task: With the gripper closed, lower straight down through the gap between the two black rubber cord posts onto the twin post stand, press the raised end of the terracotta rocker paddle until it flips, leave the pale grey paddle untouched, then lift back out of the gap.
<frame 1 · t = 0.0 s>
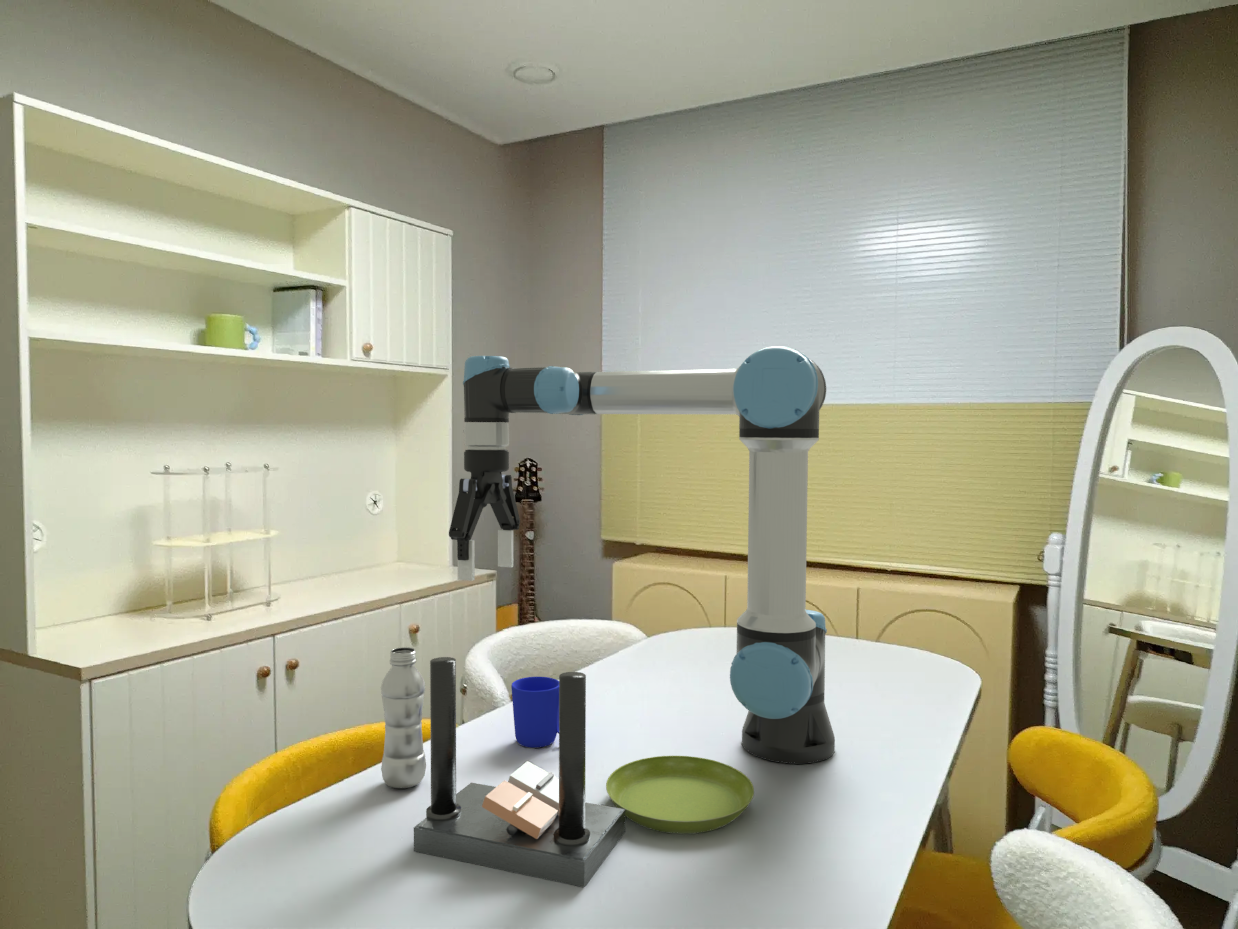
hand: (486, 573, 141), 28 cm above the table, fingers open, 13 cm apart
mug: (547, 744, 139), on the table
paddle a: (520, 807, 103), point 6 cm above the table, hinge at -20.0°
plastic bottle: (403, 785, 122), on the table
saucer: (679, 808, 116), on the table
twin post stand: (522, 841, 106), on the table
paddle b: (543, 785, 109), point 6 cm above the table, hinge at -20.0°
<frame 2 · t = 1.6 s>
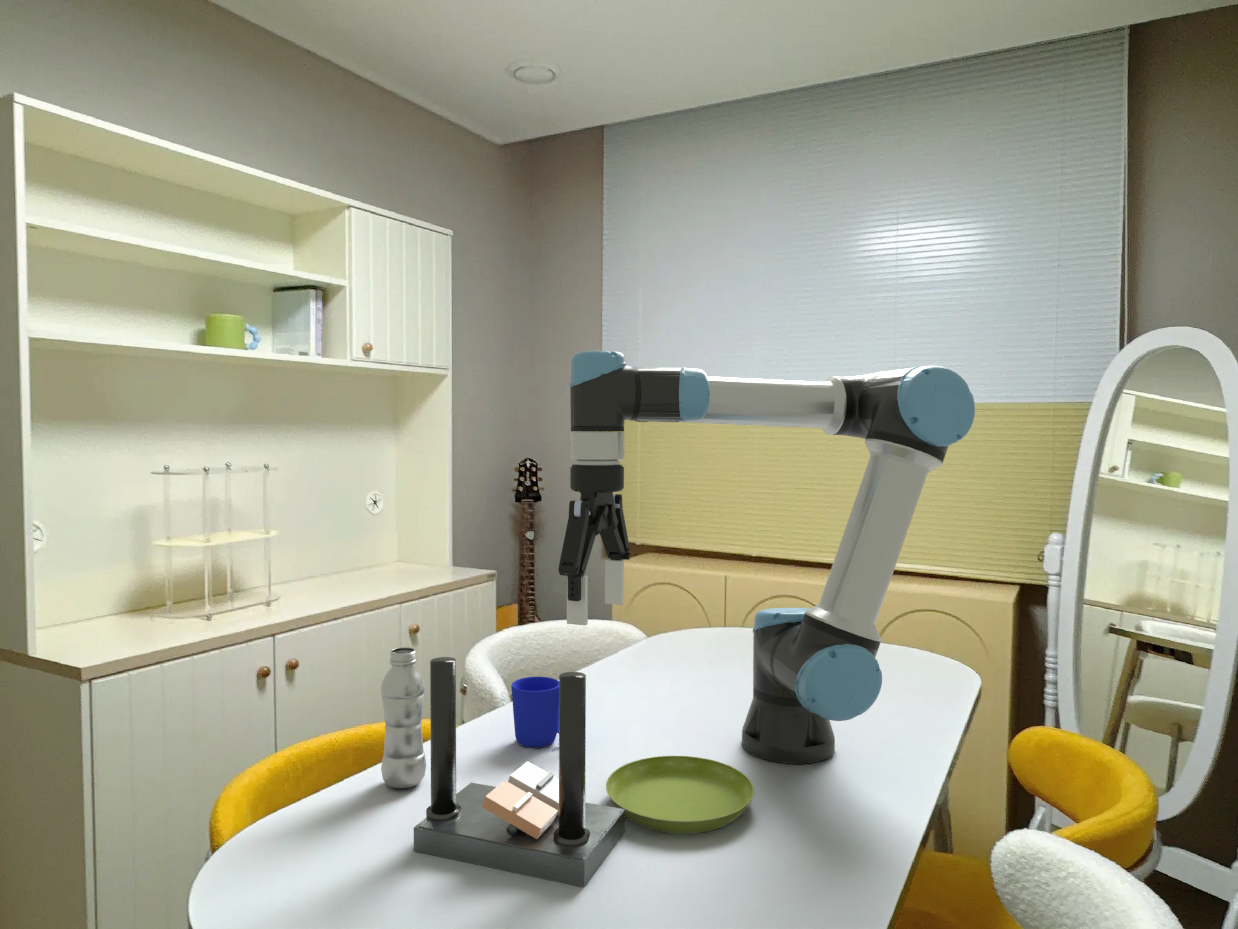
hand: (596, 613, 117), 27 cm above the table, fingers open, 13 cm apart
nothing on the table moved.
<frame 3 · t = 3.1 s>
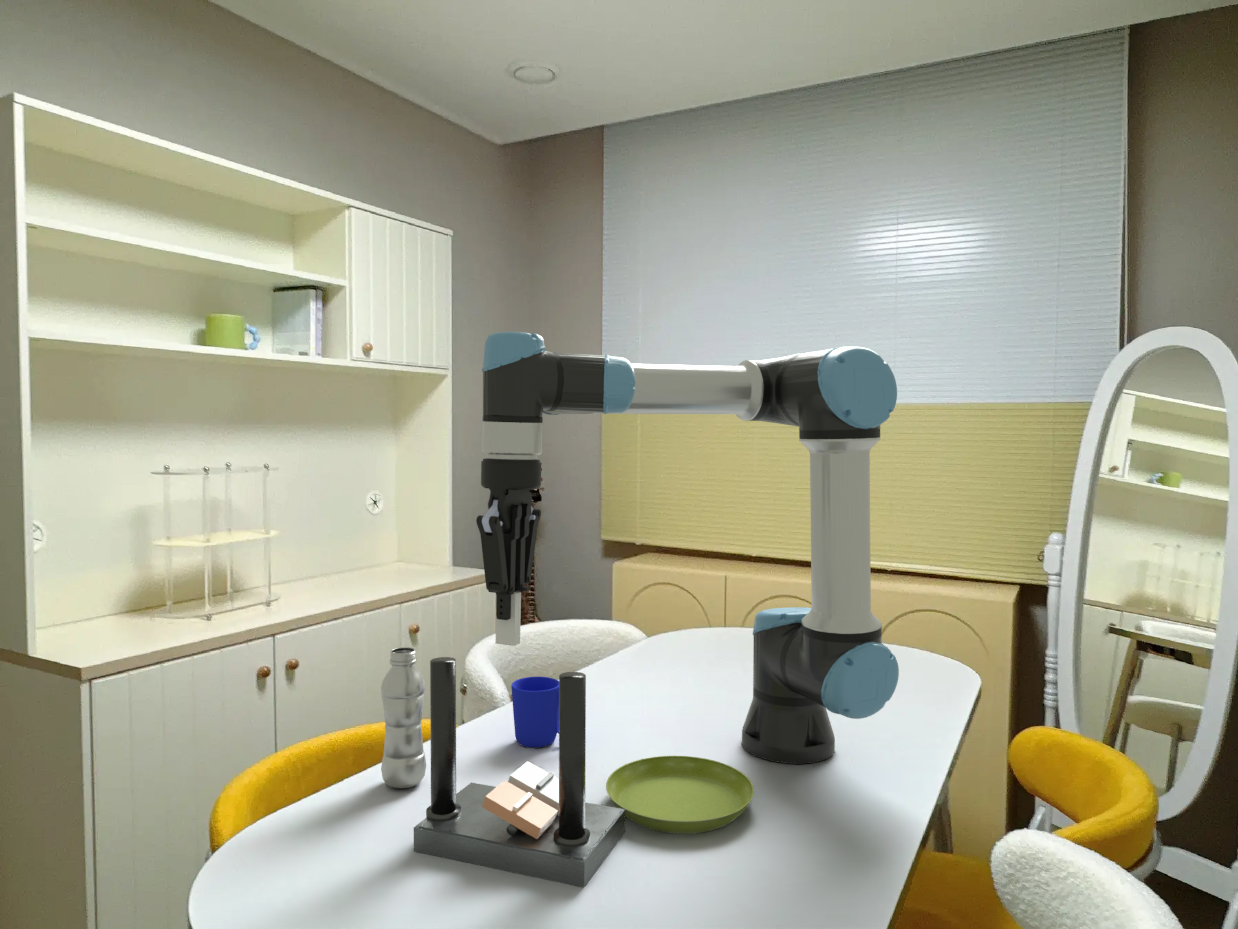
hand: (507, 643, 105), 26 cm above the table, fingers closed
nothing on the table moved.
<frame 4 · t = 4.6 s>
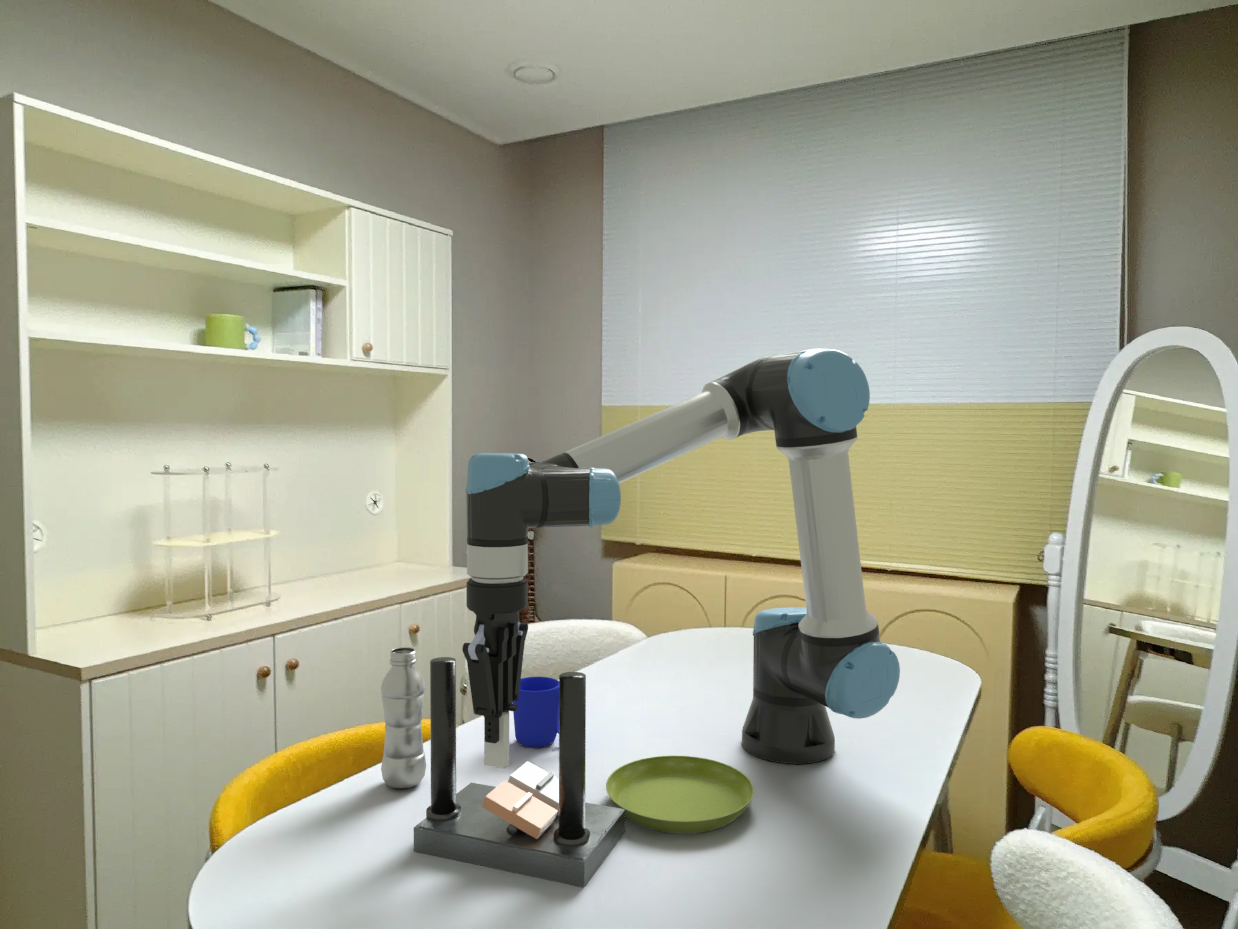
hand: (496, 764, 104), 11 cm above the table, fingers closed
nothing on the table moved.
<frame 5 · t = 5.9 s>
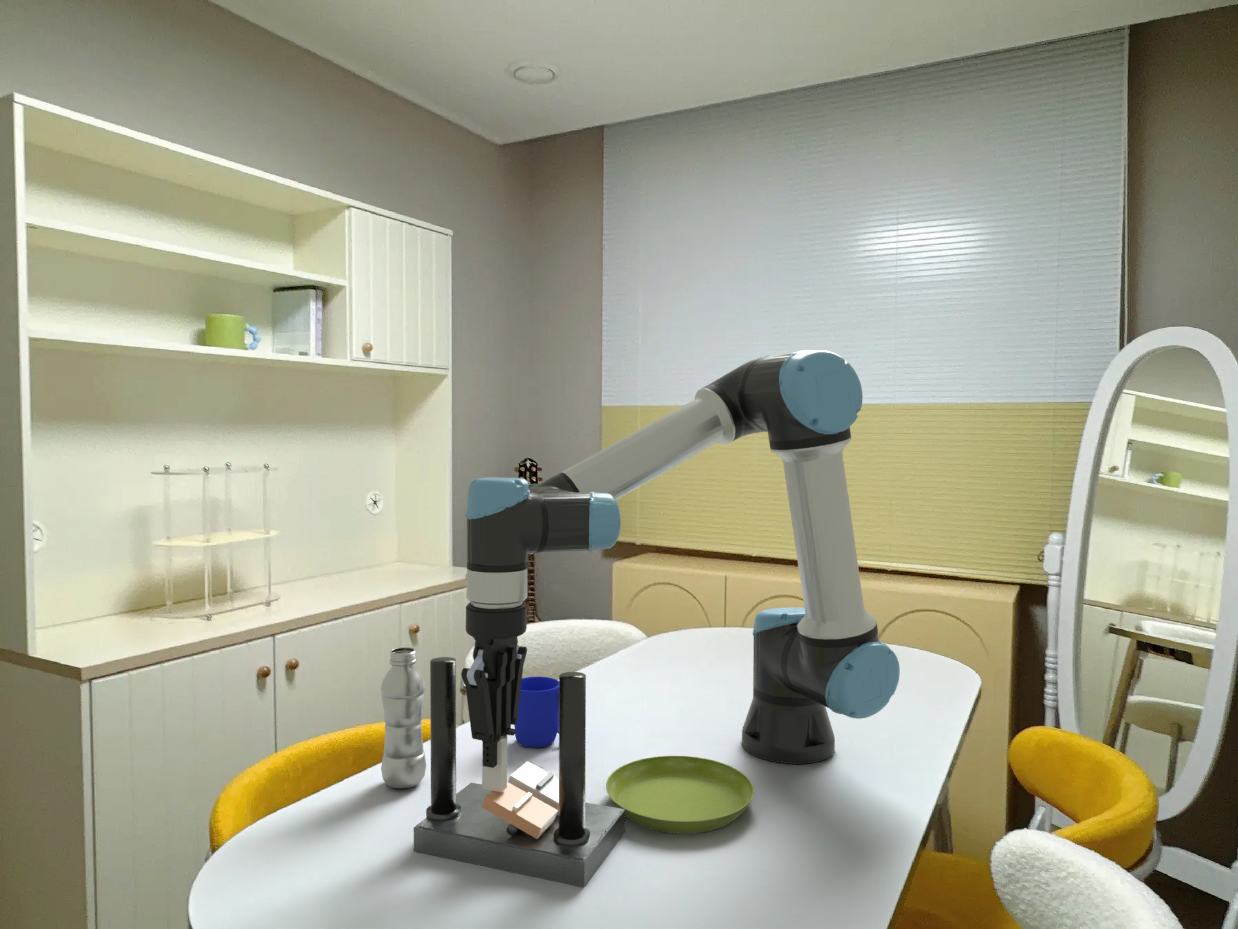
hand: (494, 788, 104), 8 cm above the table, fingers closed
paddle a: (520, 807, 103), point 6 cm above the table, hinge at -19.6°, touching gripper
everything else where it was.
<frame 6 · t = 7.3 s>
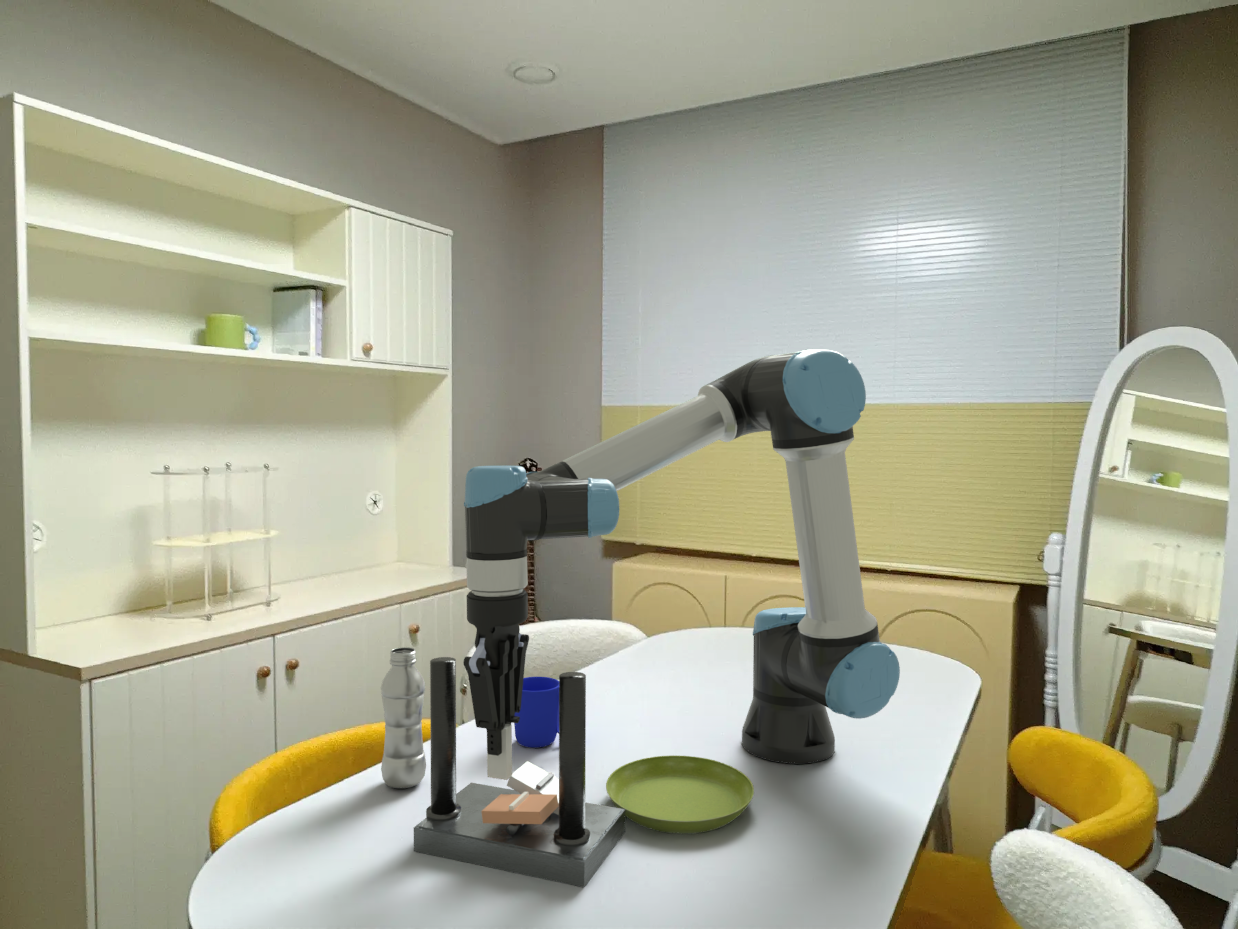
hand: (499, 776, 104), 9 cm above the table, fingers closed
paddle a: (519, 806, 103), point 6 cm above the table, hinge at 8.9°
everything else where it was.
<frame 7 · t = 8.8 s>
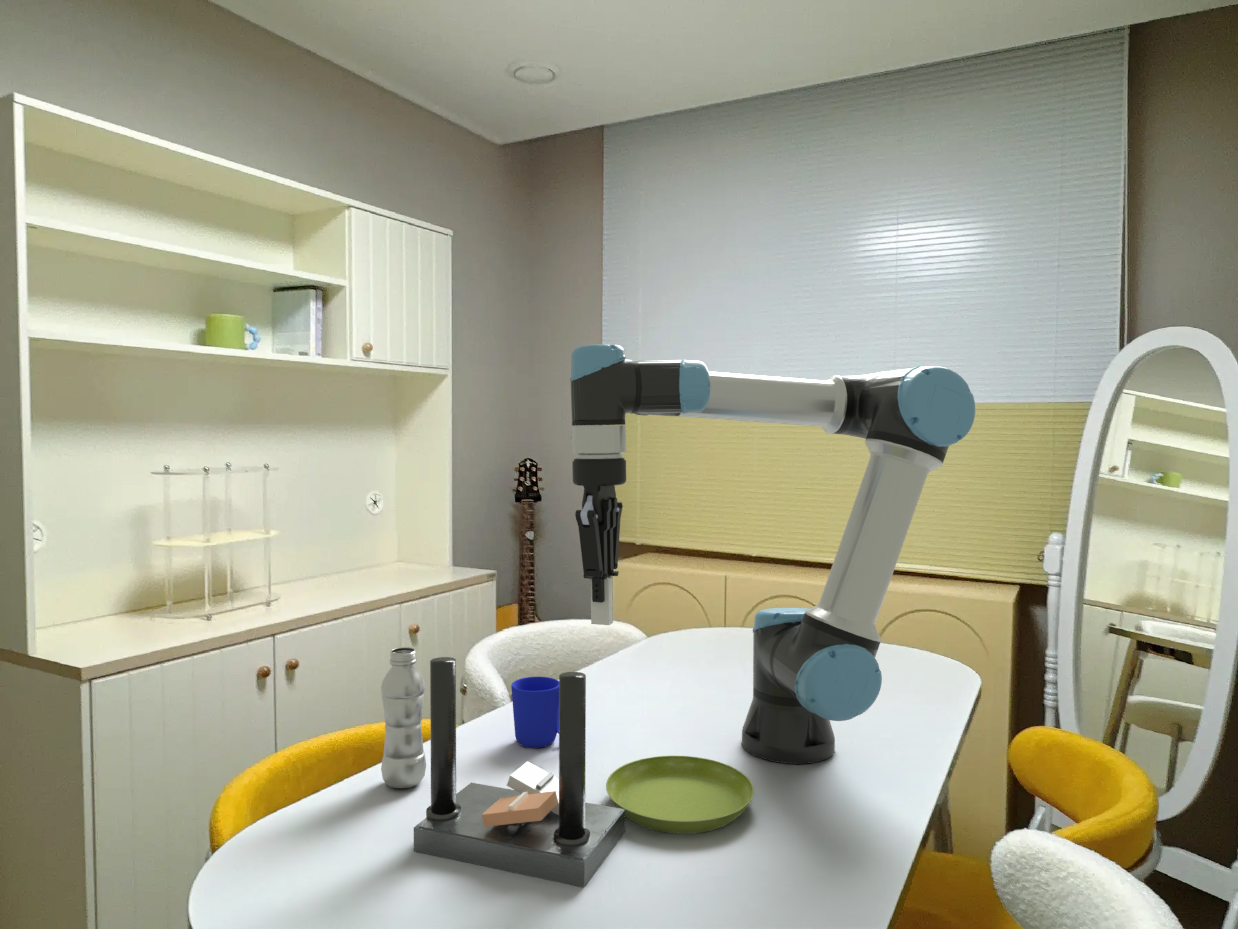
hand: (602, 623, 117), 25 cm above the table, fingers closed
paddle a: (519, 806, 103), point 6 cm above the table, hinge at 15.3°
everything else where it was.
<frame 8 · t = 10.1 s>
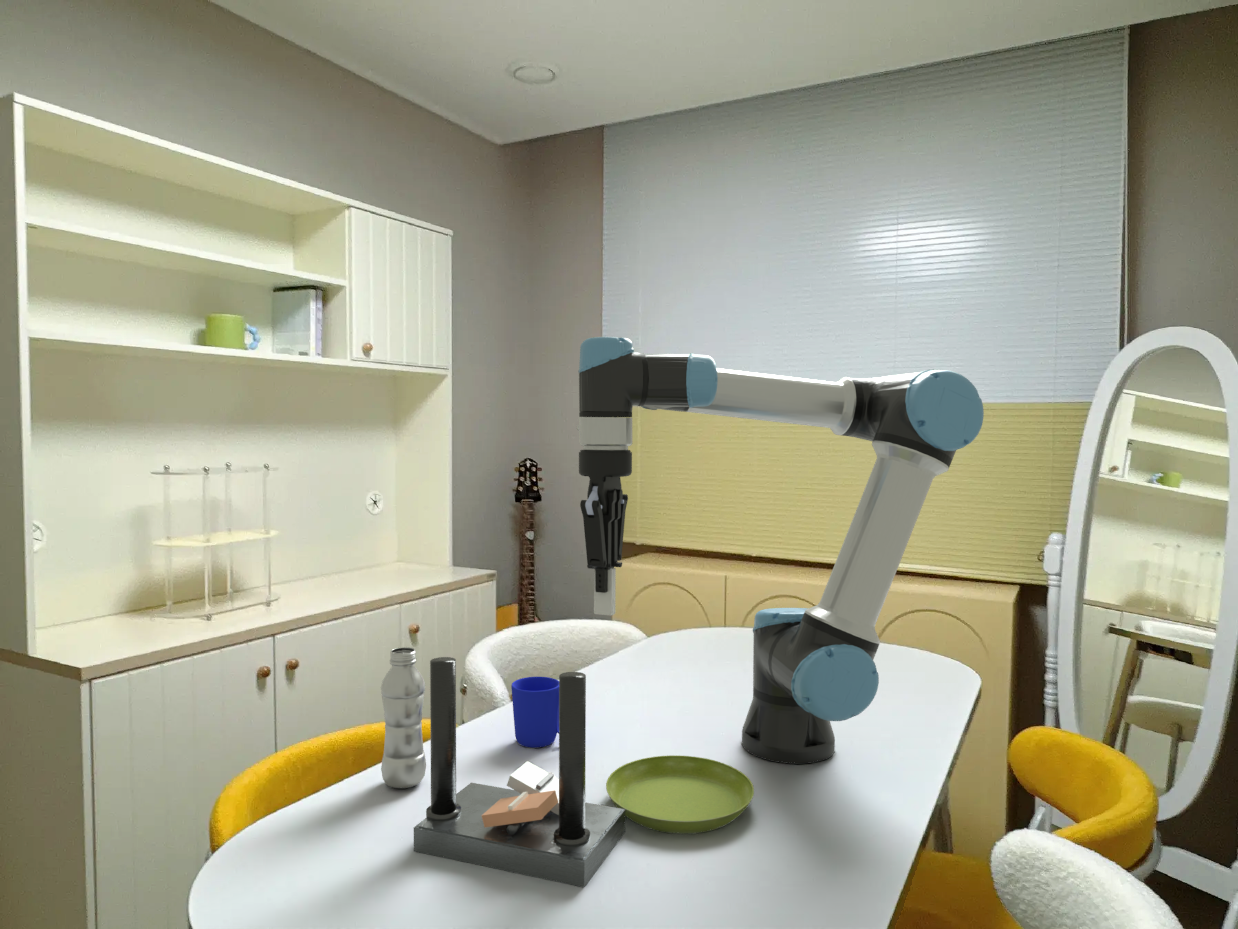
hand: (604, 613, 118), 26 cm above the table, fingers closed
paddle a: (519, 806, 103), point 6 cm above the table, hinge at 16.7°
everything else where it was.
at the end: paddle a at +17° (first picture: -20°); paddle b at -20° (first picture: -20°) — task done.
